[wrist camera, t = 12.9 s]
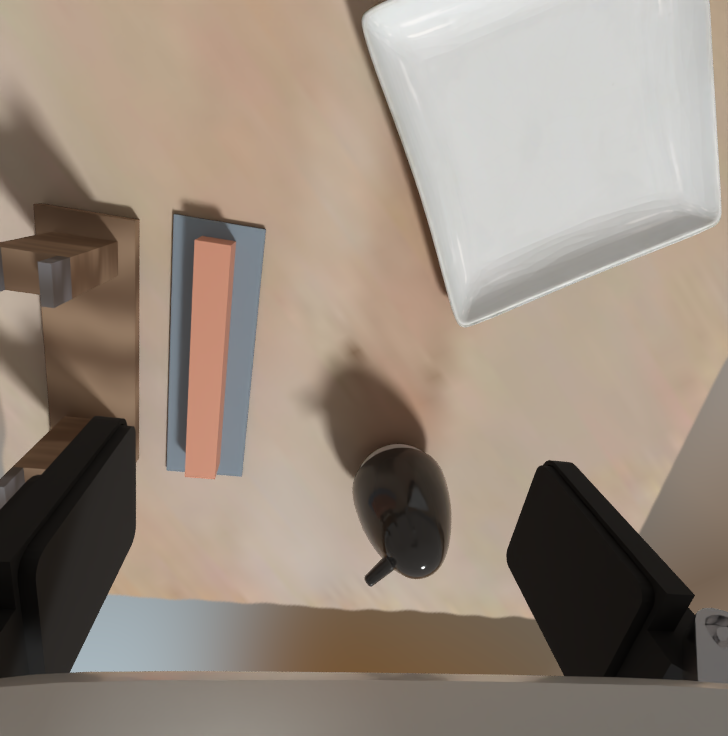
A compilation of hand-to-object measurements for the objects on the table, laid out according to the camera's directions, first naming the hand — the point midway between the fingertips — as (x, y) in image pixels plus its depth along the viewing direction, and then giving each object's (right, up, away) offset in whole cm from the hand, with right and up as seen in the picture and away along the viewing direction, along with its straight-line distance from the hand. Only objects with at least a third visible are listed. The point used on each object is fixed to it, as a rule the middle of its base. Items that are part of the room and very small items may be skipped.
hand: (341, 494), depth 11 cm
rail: (-15, +4, +36) cm, 39 cm away
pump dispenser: (+4, -9, +44) cm, 45 cm away
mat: (-15, +4, +36) cm, 39 cm away
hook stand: (-26, +5, +34) cm, 43 cm away
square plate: (+17, +24, +32) cm, 44 cm away
